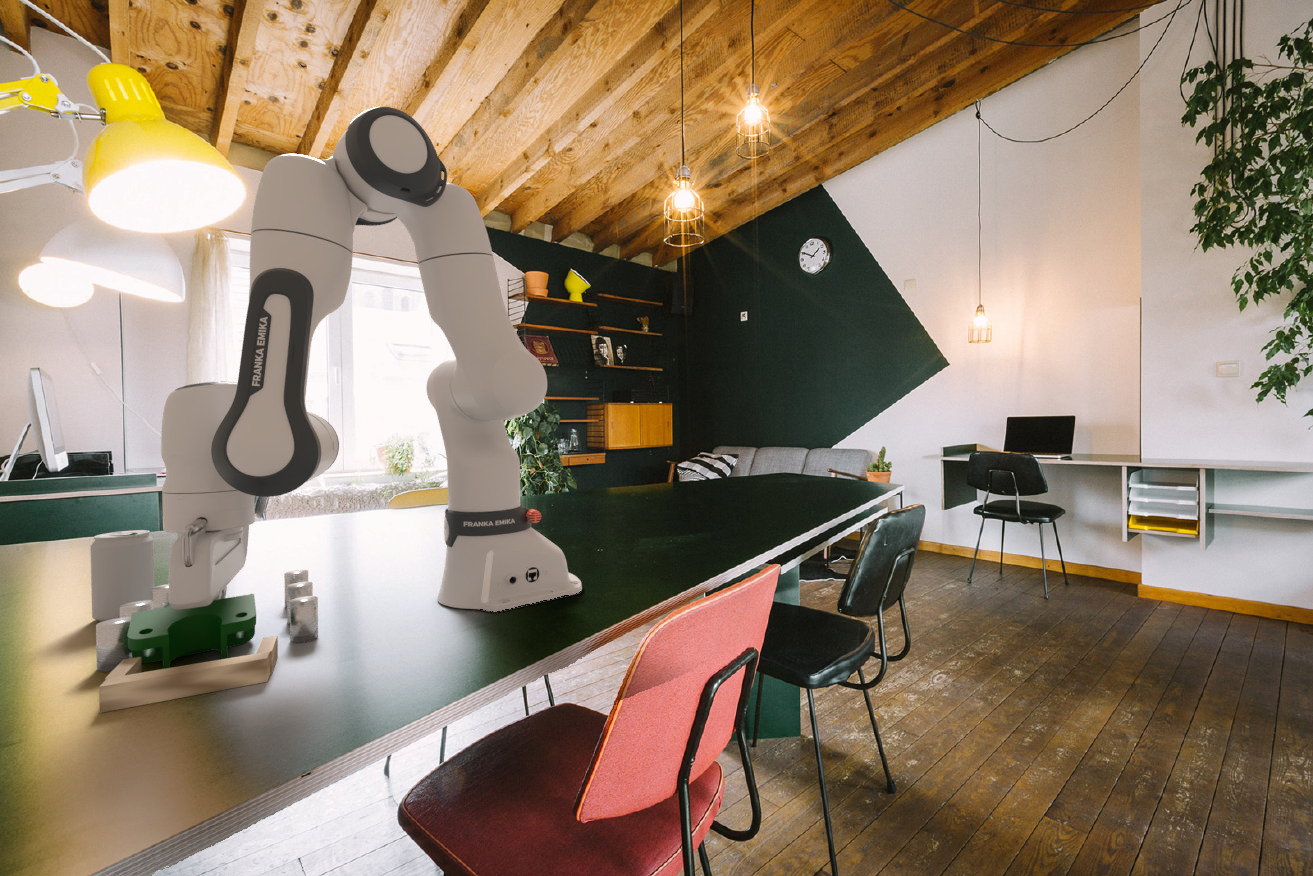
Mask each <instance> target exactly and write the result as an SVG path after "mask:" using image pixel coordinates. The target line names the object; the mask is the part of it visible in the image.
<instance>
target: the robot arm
mask: <svg viewBox="0 0 1313 876" xmlns="http://www.w3.org/2000/svg"><path fill="white" fill-rule="evenodd" d="M437 153H438V152H437V151H436V148H435V145H434V144H433V142H432V140H431V138H430V137H429V135H428V134H427V132H426V131H425V129H424V128H423V127H422V125H421V124H420V123H418V121H417V120H416V119H414V118H413V117H412V116H411V115H409V114H408V113H407V112H404V111H403V110H401V109H398V108H394V107H392V106H391V107H390V106H377V107H373V108H370V109H366V110H364V111H363V112H361V113H360V114H357V115H356V116H355V117H354V118H353V119H352V120H351V121H350V123H349V124H348V126H347V129H346V130H345V131H344V133H342V134H341V137H340V138H339V140H338V141H337V143H336V145H335V147H334V150H333V152H332V154H331V155H330V156H329V158H327V159H320V158H319V159H317V158H315V157H311V156H308V155H304V154H297V153H286V154H281V155H276V156H275V157H273V158H271V159H270V160H268V162H267V163H266V164H265V166H264V168H263V171H262V174H261V176H260V180H259V183H258V188H257V191H256V195H255V199H254V205H253V210H252V211H253V212H252V219H251V229H250V230H251V232H250V241H249V242H250V243H249V244H250V246H249V294H248V305H247V310H246V318H245V324H244V331H243V332H244V333H243V341H242V347H241V353H240V354H241V355H240V362H239V370H238V377H237V382H236V381H227V380H226V381H207V382H199V383H192V384H186V385H184V386H181V387H178V388H176V389H175V390H172V392H170V393H169V394H168V396H167V398H166V400H165V404H164V408H163V413H162V421H161V433H160V434H161V438H160V440H161V441H160V442H161V443H160V445H161V446H160V448H161V449H160V452H161V458H162V461H163V463H164V466H165V479H164V483H163V485H162V490H161V491H162V495H161V496H162V497H161V498H162V531H164V532H166V533H173V534H176V535H177V539H175V541H173V542H172V544H171V547H170V552H169V563H168V583H167V584H168V600H169V604H170V606H171V608H172V609H173V610H180V609H189V608H197V607H203V606H208V605H210V604H211V603H212V602H213V601H214V600H219V599H224V598H227V597H226V596H227V591H228V589H227V588H228V587H227V586H228V585H229V584H230V582H232V581H233V579H234V578H235V577H236V576H237V575H238V574H239V572H241V570H242V569H243V568H244V567H245V564H246V561H247V554H248V545H249V532H250V531H249V530H250V525H253V524H254V523H255V522H256V507H255V506H256V505H255V501H256V500H255V498H256V497H261V498H269V497H279V496H283V495H287V494H289V493H292V492H293V491H295V490H297V489H299V488H300V487H302V486H304V484H305V483H307V482H309V481H312V480H313V479H315V478H317V477H319V476H321V475H322V474H323V473H325V472H326V471H327V470H329V468H331V467H332V466H333V464H334V463H335V461H336V460H337V457H338V454H339V450H340V441H339V437H338V434H337V431H336V430H335V429H334V427H333V426H332V425H331V423H329V421H327V420H326V419H325V418H323V417H321V416H319V415H317V414H316V413H313V412H310V411H307V406H306V396H307V395H306V394H307V385H308V374H309V373H308V372H309V365H310V355H311V347H312V341H313V337H314V334H315V331H316V329H317V327H318V325H319V324H320V323H321V321H323V319H325V318H326V317H327V316H328V315H331V314H332V313H333V312H335V311H336V310H338V309H339V308H340V307H341V306H342V305H343V304H344V303H345V300H346V297H347V292H348V288H349V284H350V280H351V276H352V266H353V255H354V253H353V252H354V251H353V250H354V249H353V248H354V247H353V245H354V232H355V227H356V226H368V227H371V226H372V227H374V226H375V227H376V226H382V225H387V224H389V223H392V222H394V221H395V220H397V219H398V220H399V221H400V222H401V223H402V225H403V226H404V227H405V229H406V231H407V232H408V233H409V236H410V238H411V240H412V242H413V245H414V251H415V254H416V255H415V257H416V261H417V265H418V271H419V274H420V279H421V283H422V288H423V290H424V295H425V298H426V299H425V300H426V303H427V308H428V313H429V316H430V318H431V319H432V321H433V322H434V323H435V324H436V325H437V326H438V327H439V328H440V329H441V331H442V332H443V334H444V336H445V337H446V340H447V343H448V344H449V346H450V347H451V350H452V351H453V352H452V353H453V354H454V356H452V357H449V358H447V359H445V360H444V361H443V362H441V363H440V364H439V365H437V366H436V367H435V368H434V369H433V370H432V371H431V373H430V374H429V376H428V378H427V380H426V381H427V382H426V395H427V398H428V400H429V402H430V404H431V406H432V407H433V408H434V410H435V413H436V415H437V420H438V425H439V428H440V433H441V436H442V440H443V441H442V442H443V445H444V450H445V455H446V456H445V458H446V466H447V468H446V469H447V472H446V473H447V508H445V511H444V517H443V519H444V520H443V522H444V523H443V524H444V525H443V529H444V530H443V531H444V532H443V533H444V541H445V545H446V553H445V555H446V556H445V561H444V569H443V576H442V580H441V583H440V588H439V592H438V595H437V597H436V600H437V601H438V603H440V604H442V605H444V606H446V607H450V608H456V609H466V610H468V609H469V610H470V609H471V610H480V609H483V610H482V611H485V610H486V611H485V612H490V611H491V612H492V611H493V612H492V613H498V612H497V611H500V612H503V611H502V610H504V611H506V610H505V609H509V610H512V609H511V608H513V609H516V608H515V607H517V608H519V607H518V606H521V605H525V604H530V605H533V604H532V603H534V604H537V603H536V602H539V603H541V602H540V601H543V600H547V601H551V600H550V599H552V600H555V599H554V598H556V599H558V598H557V597H560V598H562V597H561V596H564V595H569V596H573V595H577V594H580V593H581V592H582V590H583V585H582V581H581V579H580V578H578V576H577V575H575V574H573V573H571V572H569V569H568V563H567V559H566V556H565V554H564V552H563V550H562V548H560V547H559V546H558V545H557V544H555V543H554V542H552V541H551V540H550V539H548V538H547V537H545V536H544V535H543V534H541V533H540V532H539V531H537V530H536V529H534V528H533V527H532V525H533V524H537V523H539V522H540V520H542V517H543V516H542V513H541V512H540V511H539V510H537V509H535V508H531V509H530V508H527V507H526V506H523V505H522V504H521V460H520V456H519V455H518V453H517V452H516V450H515V449H514V447H513V445H512V443H511V442H510V440H509V437H508V436H509V435H508V433H507V429H506V425H505V421H509V420H510V421H511V420H515V419H518V418H520V417H523V416H525V415H527V414H529V413H531V412H534V411H535V410H536V409H537V408H539V406H541V404H542V403H543V402H544V399H545V398H546V394H547V391H548V378H547V373H546V370H545V368H544V366H543V364H542V363H541V362H540V360H539V359H538V358H537V357H536V356H535V355H534V354H532V353H531V352H530V351H529V350H528V349H527V348H526V347H525V345H524V344H523V342H522V340H521V339H520V336H519V335H518V333H517V331H516V329H515V328H514V324H513V323H512V321H511V319H510V316H509V314H508V312H507V309H506V306H505V303H504V299H503V295H502V290H501V285H500V283H499V278H498V277H499V276H498V273H497V268H496V264H495V259H494V254H493V249H492V246H491V245H492V244H491V242H490V237H489V234H488V231H487V227H486V225H485V221H484V219H483V216H482V214H481V212H480V209H479V206H478V204H477V201H476V199H475V197H474V196H473V195H472V193H470V192H469V190H467V188H465V187H463V186H461V185H458V184H457V183H456V184H455V183H451V182H448V172H447V167H446V166H445V165H444V163H443V162H442V160H441V159H440V157H439V155H438V154H437ZM442 172H443V174H442ZM442 176H443V178H442ZM580 591H581V592H580ZM579 592H580V593H579ZM576 593H577V594H576ZM543 602H544V601H543ZM521 607H522V606H521Z"/></svg>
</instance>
